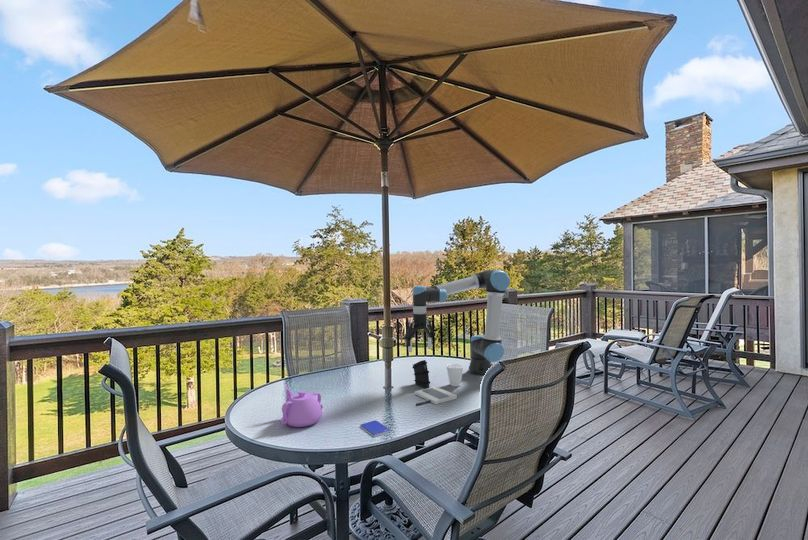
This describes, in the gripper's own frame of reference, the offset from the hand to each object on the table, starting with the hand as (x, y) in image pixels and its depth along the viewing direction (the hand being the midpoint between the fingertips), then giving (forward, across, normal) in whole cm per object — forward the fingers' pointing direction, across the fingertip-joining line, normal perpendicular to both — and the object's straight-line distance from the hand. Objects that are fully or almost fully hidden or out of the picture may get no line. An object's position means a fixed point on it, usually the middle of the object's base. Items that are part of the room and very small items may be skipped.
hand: (420, 350), depth 225 cm
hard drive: (+21, +49, +36) cm, 64 cm away
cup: (+20, -16, +11) cm, 28 cm away
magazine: (+20, 0, 0) cm, 20 cm away
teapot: (+21, +73, +8) cm, 76 cm away
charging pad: (+20, +8, +19) cm, 29 cm away
